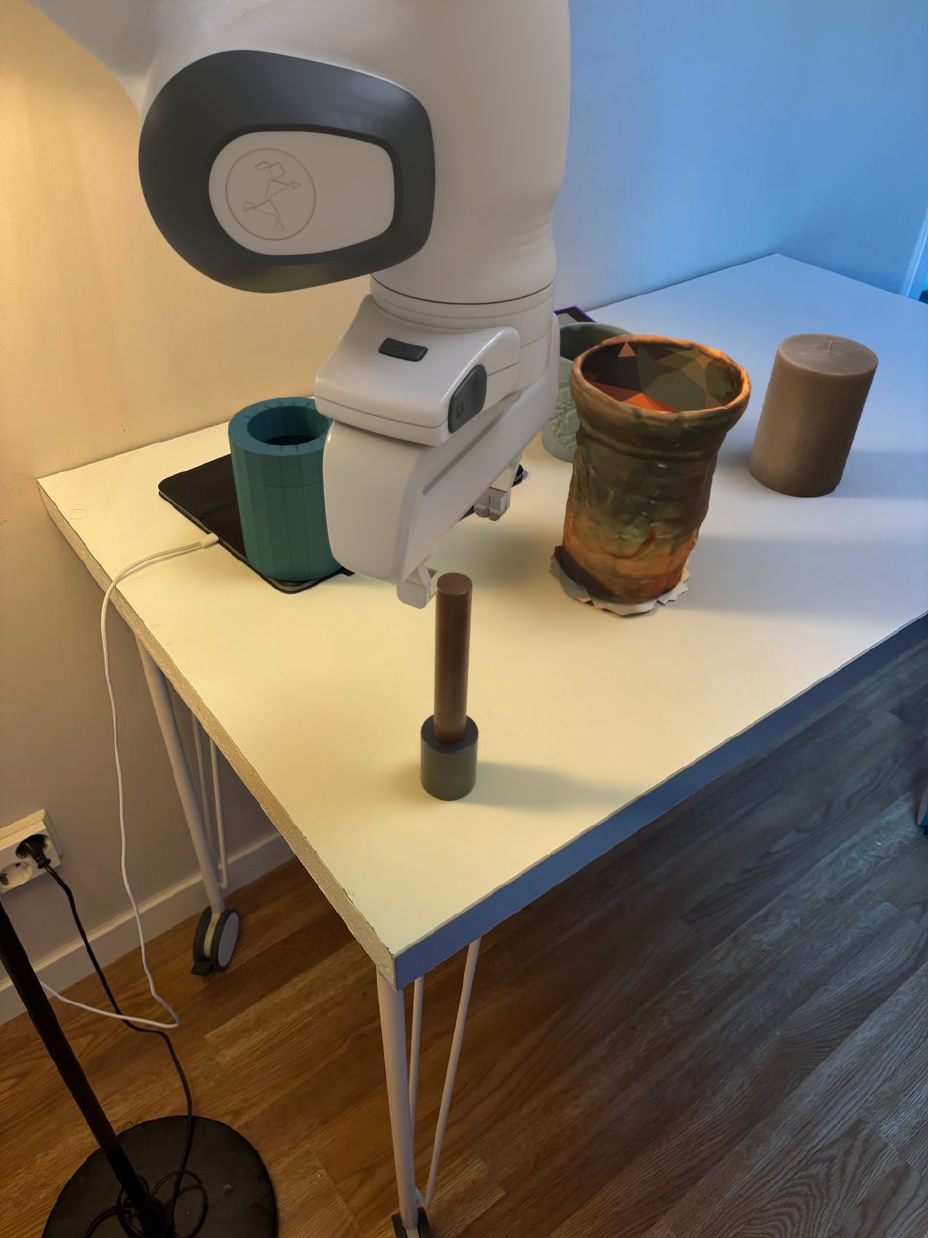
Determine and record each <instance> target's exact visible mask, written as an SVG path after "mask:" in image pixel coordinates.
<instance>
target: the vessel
mask: <svg viewBox="0 0 928 1238" xmlns="http://www.w3.org/2000/svg"><path fill="white" fill-rule="evenodd" d="M632 334H633V335H620V336H616V337H613V338H610V339H606V340H604V341H603V342H601V343H600V344H598V345H596V346H594V347H592V348H590V349H588V350H586V351H585V352H583V353H581V354H580V355H579V356H578V357H576V358H575V359H574V363H573V365H572V369H571V372H570V376H569V384H570V391H571V395H572V397H573V399H574V401H575V404H576V406H577V408H576V412H577V416H578V418H579V420H580V426H579V430H578V431H577V432H576V441H577V450H576V452H575V454H574V457H573V463H572V471H571V477H570V481H569V487H568V495H567V500H566V504H565V513H564V521H563V533H562V534H563V536H562V542H561V545H556V546H554V552H553V554H552V555H551V557H549V559H550V560H551V563H550V569H549V570H548V571H549V572H550V573H551V574H552V575H554V576H555V577H557V578H558V580H559V582H560V584H561V588H562V590H563V591H564V592H565V593H566V594H567V595H568V596H569V597H570V598H573V599H576V600H577V601H579V602H581V603H583V604H584V603H587V602H589V601H591V602H592V604H593V605H594V606H595V608H596V609H606V610H608V611H611V612H612V613H615V614H617V615H619V616H626V615H630V614H638V613H645V612H648V611H651V610H653V608H654V607H655V605H656V604H657V601H659V602H661V603H662V604H664V605H666V604H667V602H668V601H676V600H677V599H678V596H680V594H682V593H685V592H687V591H689V590H690V589H689V587H688V585H687V584H685V583H684V582H686V581H687V580H688V579H689V578H691V573H690V572H689V570H688V569H687V568H686V566H687V565H689V562H690V558H689V556H690V554H691V552H692V551H693V549H694V548H695V547H696V545H697V542H698V541H699V540H698V539H699V534H700V529H701V526H702V524H703V522H704V521H705V519H706V517H707V515H708V512H709V508H710V501H711V500H710V499H711V491H712V485H713V478H714V474H715V472H716V467H717V465H718V459H719V452H720V449H721V447H722V445H723V443H724V442H725V439H726V437H727V433H728V432H729V431H731V430H732V429H733V428H734V427H735V426H736V424H737V423H738V422H739V421H740V420H741V419H742V417H743V415H744V413H745V412H746V410H747V408H748V406H749V403H750V399H751V393H752V382H751V379H750V375H749V374H748V372H747V370H746V368H744V367H743V366H741V365H740V364H739V363H736V362H735V361H734V360H733V359H732V358H731V357H730V356H729V355H728V354H726V353H724V351H721V350H719V349H716V348H712V347H710V346H707V345H704V344H702V343H700V342H697V341H693V340H687V339H682V338H681V339H680V338H674V337H668V336H664V335H657V334H656V335H655V334H634V333H632Z"/></svg>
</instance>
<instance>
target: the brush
mask: <svg viewBox="0 0 928 1238" xmlns="http://www.w3.org/2000/svg"><path fill="white" fill-rule="evenodd" d="M437 587H438V591H437V593H436V594H435V611H434V612H435V613H434V615H435V616H434V617H435V618H434V619H435V620H434V625H435V626H434V627H435V628H434V680H433V682H434V683H433V684H434V685H433V714H431V715H430V716H428V717H427V718H426V719H425V720H424V721H423V723H422V725H421V727H420V743H419V744H420V750H419V751H420V754H419V755H420V757H419V760H420V763H419V765H420V768H419V770H420V777H419V778H420V783H421V786H422V788H423V789H424V791H425V792H426V793H427V794H429V795H430V796H431V797H434V798H436V799H439V800H442V801H453V800H458V799H461V798H464V797H465V796H467V795H468V794H469V793H470V792H471V791H472V790H473V789H474V787H475V786H476V782H477V781H476V780H477V767H478V752H479V751H478V750H479V736H480V735H479V734H480V733H479V727H478V725H477V723H476V722H475V720H473V718H471V717H470V716H469V715H468V714H467V713H468V712H467V711H468V690H469V667H470V648H471V625H472V624H471V623H472V606H473V605H472V604H473V581H472V579H471V578H470V577H469V576H468V575H466V574H464V573H461V572H445V573H444V574H441V575H440V576H438V582H437Z"/></svg>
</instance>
